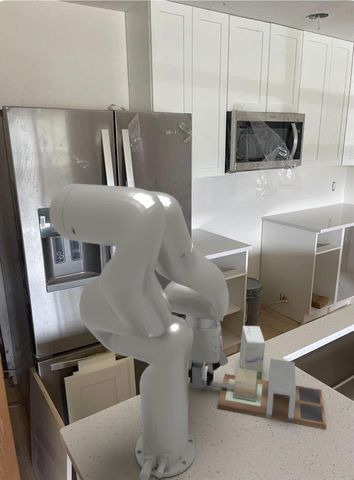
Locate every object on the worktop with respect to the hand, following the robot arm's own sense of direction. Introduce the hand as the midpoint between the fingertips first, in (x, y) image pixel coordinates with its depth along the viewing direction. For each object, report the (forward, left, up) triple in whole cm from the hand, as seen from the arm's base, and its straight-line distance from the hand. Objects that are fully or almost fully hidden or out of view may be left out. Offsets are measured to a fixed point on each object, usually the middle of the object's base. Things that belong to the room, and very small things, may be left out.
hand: (200, 380), depth 95 cm
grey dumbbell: (0, -6, -1) cm, 6 cm away
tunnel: (0, -20, -2) cm, 20 cm away
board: (0, -18, -2) cm, 18 cm away
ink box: (+11, -12, -3) cm, 16 cm away
